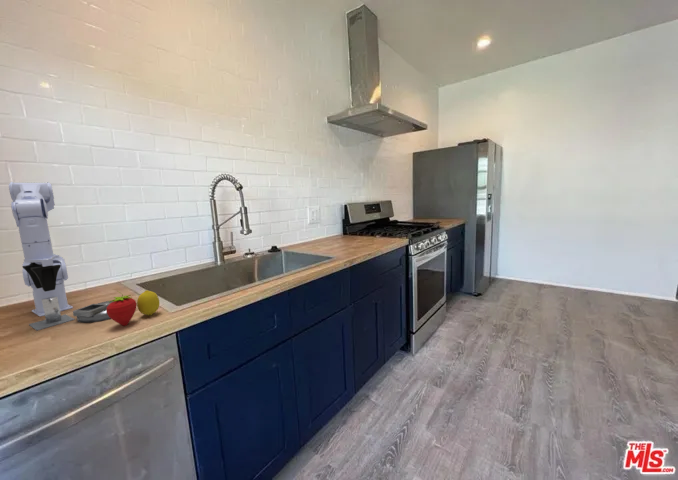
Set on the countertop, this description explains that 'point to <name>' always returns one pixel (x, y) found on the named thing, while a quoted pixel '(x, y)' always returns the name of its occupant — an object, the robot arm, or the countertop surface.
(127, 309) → the strawberry
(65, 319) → the mat
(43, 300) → the key
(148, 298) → the lemon
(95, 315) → the grey rounded hollow piece
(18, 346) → the countertop surface
